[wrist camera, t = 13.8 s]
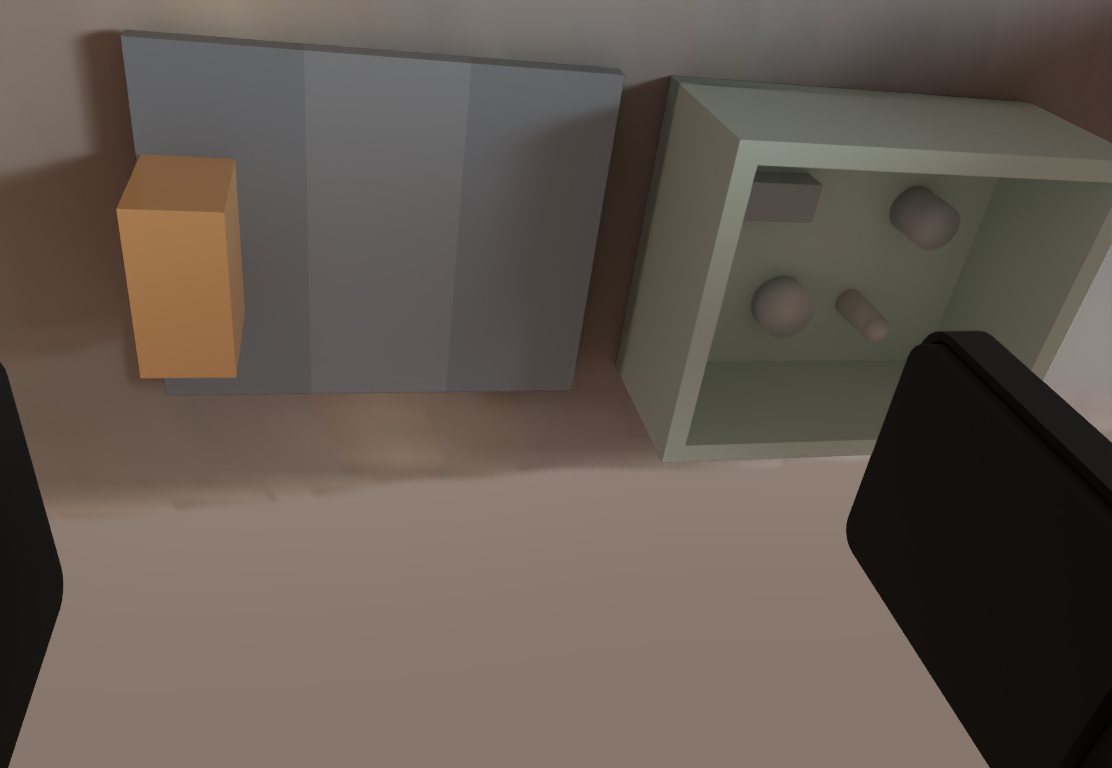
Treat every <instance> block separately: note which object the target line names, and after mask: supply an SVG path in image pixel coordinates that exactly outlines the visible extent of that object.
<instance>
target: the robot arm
mask: <svg viewBox="0 0 1112 768" xmlns="http://www.w3.org/2000/svg"><path fill="white" fill-rule="evenodd" d="M846 534H847V540H848V544H849V547H850V549H851V551H852V553H853V554H854V556H855V557H856V559H857V561H858V562H859V564H860V565H861V567H862V569H863V570H864V572H865V573H866V575H867V576H868V578H869V579H870V581H871V582H872V584H873V585H874V587H875V589H876V590H877V592H878V593H879V595H880V597H881V598H882V600H883V601H884V603H885V604H886V606H887V607H888V609H889V611H890V612H891V614H892V615H893V617H894V618H895V620H896V622H897V623H898V625H899V626H900V628H901V629H902V631H903V633H904V634H905V636H906V637H907V639H908V640H909V642H910V644H911V645H912V646H913V648H914V650H915V651H916V653H917V655H918V656H919V658H920V659H921V661H922V662H923V664H924V665H925V667H926V669H927V670H928V672H929V673H930V675H931V676H932V678H933V680H934V681H935V683H936V684H937V686H938V687H939V689H940V690H941V692H942V694H943V695H944V697H945V698H946V700H947V701H948V703H949V704H950V706H951V708H952V709H953V711H954V712H955V714H956V715H957V717H958V719H959V720H960V722H961V723H962V725H963V726H964V728H965V729H966V731H967V733H968V734H969V736H970V737H971V739H972V740H973V742H974V744H975V745H976V747H977V748H978V750H979V751H980V753H981V755H982V756H983V758H984V759H985V761H986V762H987V764H988V766H989V767H990V768H1112V443H1111V442H1110V441H1109V440H1108V439H1107V438H1106V437H1105V436H1104V435H1102V434H1101V433H1100V432H1099V431H1098V430H1097V429H1096V428H1095V427H1094V426H1092V425H1091V424H1090V423H1089V422H1088V421H1087V420H1086V419H1085V418H1084V417H1082V416H1081V415H1080V414H1079V413H1078V412H1077V411H1076V410H1075V409H1073V408H1072V407H1071V406H1070V405H1069V404H1068V403H1067V402H1066V401H1065V400H1063V399H1062V398H1061V397H1060V396H1059V395H1058V394H1057V393H1056V392H1054V391H1053V390H1052V389H1051V388H1050V387H1049V386H1048V385H1047V384H1046V383H1044V382H1043V381H1042V380H1041V379H1040V378H1039V377H1038V376H1037V375H1035V374H1034V373H1033V372H1032V371H1031V370H1030V369H1029V368H1028V367H1027V366H1025V365H1024V364H1023V363H1022V362H1021V361H1020V360H1019V359H1018V358H1017V357H1015V356H1014V355H1013V354H1012V353H1011V352H1010V351H1009V350H1008V349H1006V348H1005V347H1004V346H1003V345H1002V344H1001V343H1000V342H999V341H998V340H996V339H995V338H994V337H993V336H992V335H990V334H988V333H987V332H985V331H936V332H933V333H931V334H929V335H928V336H927V337H926V338H925V339H924V340H923V342H922V344H920V345H917V346H915V347H914V348H913V349H912V350H911V352H910V354H909V356H908V358H907V360H906V363H905V366H904V368H903V371H902V374H901V376H900V379H899V382H898V385H897V387H896V390H895V393H894V395H893V398H892V401H891V403H890V406H889V409H888V411H887V414H886V417H885V420H884V422H883V425H882V428H881V430H880V433H879V436H878V438H877V441H876V444H875V446H874V449H873V452H872V455H871V457H870V460H869V463H868V465H867V468H866V471H865V473H864V476H863V479H862V481H861V484H860V487H859V490H858V492H857V495H856V498H855V500H854V503H853V506H852V508H851V511H850V514H849V517H848V520H847V526H846ZM62 595H63V574H62V569H61V565H60V562H59V558H58V554H57V550H56V547H55V543H54V540H53V536H52V533H51V529H50V525H49V522H48V518H47V515H46V511H45V508H44V504H43V500H42V497H41V493H40V490H39V486H38V483H37V479H36V475H35V472H34V468H33V465H32V461H31V458H30V454H29V450H28V447H27V443H26V440H25V436H24V433H23V429H22V425H21V422H20V418H19V415H18V411H17V408H16V404H15V401H14V397H13V393H12V390H11V386H10V383H9V379H8V376H7V373H6V370H5V368H4V367H3V365H2V364H1V363H0V768H8V766H9V763H10V760H11V757H12V754H13V751H14V748H15V745H16V742H17V738H18V735H19V732H20V729H21V726H22V723H23V720H24V717H25V714H26V711H27V708H28V705H29V702H30V699H31V696H32V693H33V690H34V687H35V684H36V680H37V678H38V674H39V671H40V668H41V665H42V662H43V659H44V656H45V653H46V650H47V647H48V643H49V641H50V638H51V635H52V631H53V629H54V625H55V622H56V619H57V616H58V613H59V610H60V607H61V602H62Z"/></svg>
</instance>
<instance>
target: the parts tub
mask: <svg viewBox="0 0 1112 768" xmlns="http://www.w3.org/2000/svg"><path fill="white" fill-rule="evenodd" d="M1111 243H1112V143H1111V142H1109V141H1106V140H1104V139H1102V138H1100V137H1098V136H1096V135H1094V134H1092V133H1090V132H1088V131H1086V130H1084V129H1082V128H1080V127H1078V126H1076V125H1074V124H1072V123H1070V122H1068V121H1066V120H1064V119H1062V118H1060V117H1058V116H1056V115H1054V114H1052V113H1050V112H1048V111H1046V110H1044V109H1042V108H1040V107H1038V106H1036V105H1034V104H1032V103H1030V102H1020V101H1007V100H993V99H980V98H966V97H953V96H939V95H926V94H912V93H899V92H885V91H872V90H859V89H845V88H832V87H818V86H805V85H791V84H778V83H764V82H751V81H737V80H724V79H710V78H697V77H683V76H671V79H670V84H669V89H668V94H667V99H666V105H665V110H664V115H663V120H662V125H661V131H660V136H659V141H658V146H657V151H656V156H655V162H654V167H653V172H652V177H651V182H650V188H649V193H648V198H647V203H646V208H645V214H644V219H643V224H642V229H641V234H640V240H639V245H638V250H637V255H636V260H635V266H634V271H633V276H632V281H631V286H630V291H629V297H628V302H627V307H626V312H625V317H624V323H623V328H622V333H621V338H620V343H619V349H618V354H617V359H616V364H615V366H616V368H617V370H618V372H619V375H620V377H621V379H622V381H623V383H624V385H625V387H626V389H627V391H628V393H629V395H630V397H631V399H632V401H633V404H634V406H635V408H636V410H637V412H638V414H639V416H640V418H641V420H642V422H643V424H644V426H645V428H646V430H647V433H648V435H649V437H650V439H651V441H652V443H653V445H654V447H655V449H656V451H657V453H658V455H659V457H660V459H661V462H662V463H664V462H691V461H718V460H745V459H772V458H800V457H827V456H854V455H872V452H873V449H874V446H875V444H876V441H877V438H878V436H879V433H880V430H881V428H882V425H883V422H884V420H885V417H886V414H887V411H888V409H889V406H890V403H891V401H892V398H893V395H894V393H895V390H896V387H897V385H898V382H899V379H900V376H901V374H902V371H903V368H904V366H905V363H906V360H907V358H908V356H909V354H910V352H911V350H912V349H913V348H914V347H915V346H917V345H920V344H922V342H923V340H924V339H925V338H926V337H927V336H928V335H929V334H931V333H933V332H936V331H985V332H987V333H988V334H990V335H992V336H993V337H994V338H995V339H996V340H998V341H999V342H1000V343H1001V344H1002V345H1003V346H1004V347H1005V348H1006V349H1008V350H1009V351H1010V352H1011V353H1012V354H1013V355H1014V356H1015V357H1017V358H1018V359H1019V360H1020V361H1021V362H1022V363H1023V364H1024V365H1025V366H1027V367H1028V368H1029V369H1030V370H1031V371H1032V372H1033V373H1034V374H1035V375H1037V376H1038V377H1039V378H1040V379H1041V380H1043V378H1044V376H1045V374H1046V372H1047V370H1048V368H1049V366H1050V365H1051V363H1052V361H1053V359H1054V357H1055V355H1056V353H1057V351H1058V349H1059V347H1060V345H1061V343H1062V341H1063V339H1064V337H1065V335H1066V333H1067V331H1068V329H1069V327H1070V325H1071V323H1072V321H1073V319H1074V317H1075V315H1076V313H1077V311H1078V309H1079V307H1080V305H1081V303H1082V301H1083V299H1084V297H1085V295H1086V293H1087V291H1088V289H1089V287H1090V285H1091V283H1092V281H1093V279H1094V277H1095V275H1096V273H1097V271H1098V269H1099V267H1100V265H1101V263H1102V261H1103V259H1104V257H1105V255H1106V253H1107V251H1108V249H1109V247H1110V245H1111Z"/></svg>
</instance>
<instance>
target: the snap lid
mask: <svg viewBox="0 0 1112 768" xmlns="http://www.w3.org/2000/svg"><path fill="white" fill-rule="evenodd" d="M121 44H122V52H123V59H124V67H125V75H126V83H127V91H128V99H129V107H130V115H131V123H132V130H133V138H134V146H135V154H136V162H137V163H136V165H135V168H134V170H133V172H132V174H131V177H130V179H129V181H128V183H127V186H126V188H125V190H124V193H123V195H122V197H121V199H120V202H119V204H118V206H117V208H116V211H117V217H118V224H119V231H120V238H121V245H122V252H123V259H124V266H125V273H126V280H127V287H128V294H129V301H130V308H131V315H132V322H133V329H134V336H135V343H136V350H137V357H138V364H139V371H140V378H164V383H165V391H166V395H232V394H315V393H397V392H480V391H563V390H572V385H573V379H574V373H575V367H576V361H577V355H578V349H579V343H580V337H581V331H582V325H583V320H584V314H585V308H586V302H587V296H588V290H589V284H590V278H591V272H592V266H593V260H594V254H595V248H596V242H597V236H598V230H599V225H600V219H601V213H602V207H603V201H604V195H605V189H606V183H607V177H608V171H609V165H610V159H611V153H612V147H613V141H614V135H615V130H616V124H617V118H618V112H619V106H620V100H621V94H622V88H623V82H624V76H625V75H624V74H623V73H622V72H621V71H620V70H619V69H615V68H602V67H590V66H577V65H564V64H552V63H539V62H526V61H514V60H501V59H488V58H476V57H463V56H450V55H438V54H425V53H413V52H400V51H387V50H375V49H362V48H349V47H337V46H324V45H311V44H299V43H286V42H273V41H261V40H248V39H235V38H223V37H210V36H197V35H185V34H172V33H160V32H147V31H134V30H124V32H123V33H122V35H121Z"/></svg>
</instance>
